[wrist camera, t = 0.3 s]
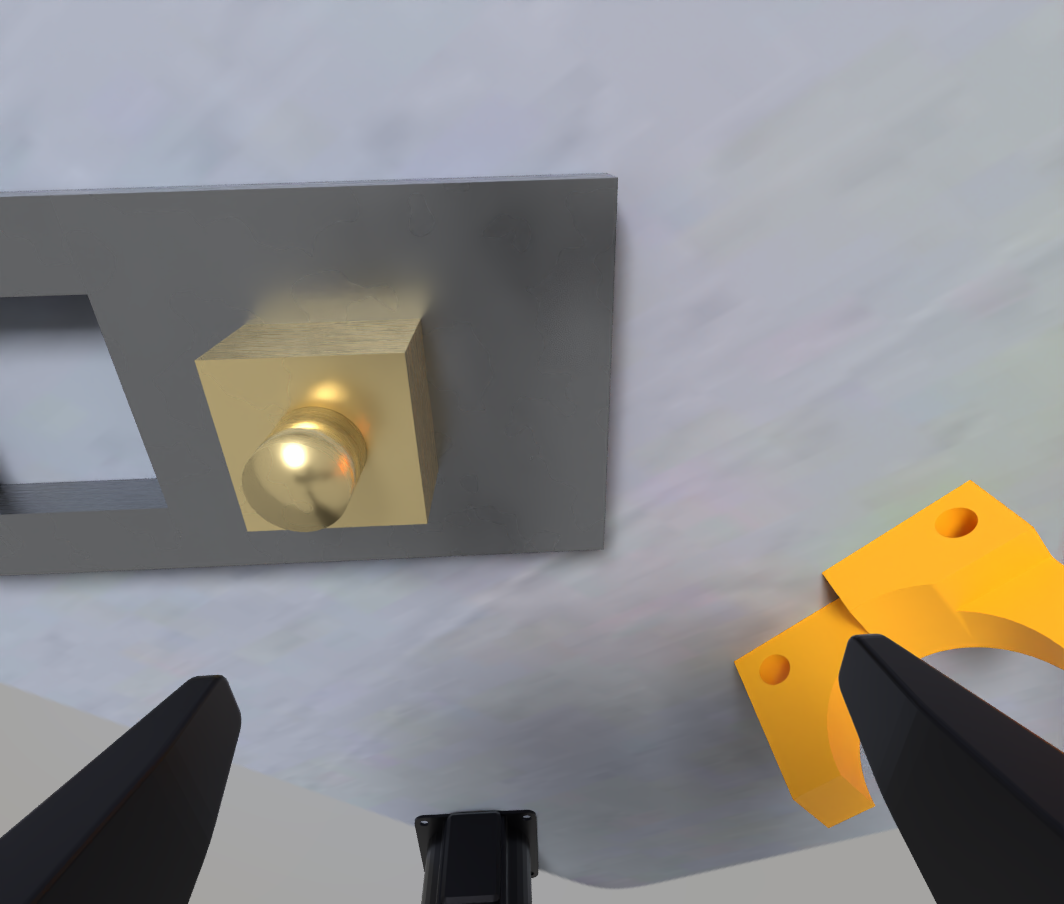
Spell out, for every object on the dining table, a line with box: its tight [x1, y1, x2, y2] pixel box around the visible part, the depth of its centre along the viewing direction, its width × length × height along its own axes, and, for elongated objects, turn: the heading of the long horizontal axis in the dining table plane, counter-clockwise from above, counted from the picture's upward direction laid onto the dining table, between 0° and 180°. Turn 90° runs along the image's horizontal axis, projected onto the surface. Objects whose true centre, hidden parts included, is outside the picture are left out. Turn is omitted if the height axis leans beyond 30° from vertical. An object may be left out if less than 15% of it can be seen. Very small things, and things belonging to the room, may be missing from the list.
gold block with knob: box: [195, 319, 438, 532], centre depth 16 cm, size 5×5×5 cm
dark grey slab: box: [0, 173, 618, 576], centre depth 19 cm, size 12×24×2 cm, turn 92°
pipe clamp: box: [734, 480, 1064, 828], centre depth 22 cm, size 12×4×6 cm, turn 133°
